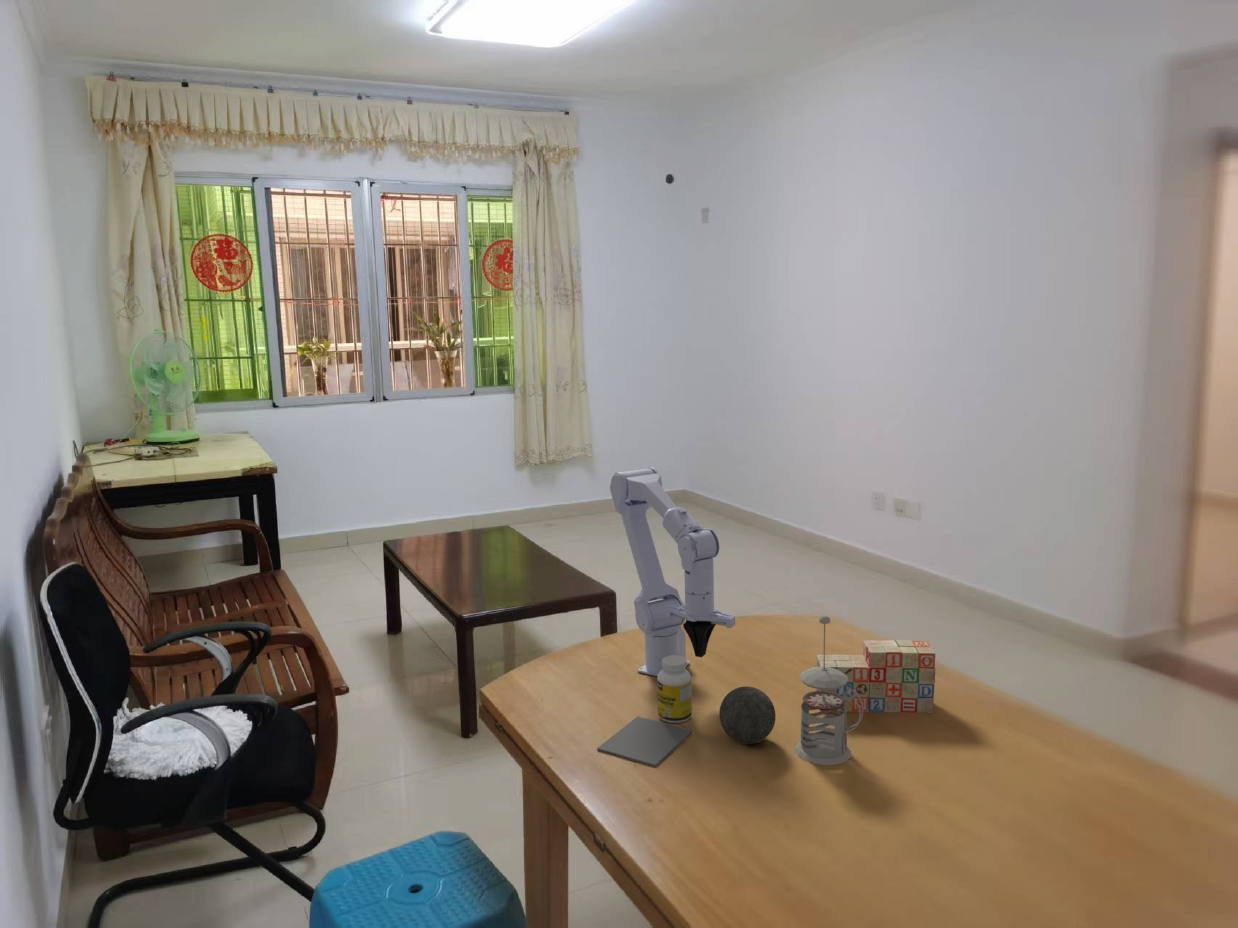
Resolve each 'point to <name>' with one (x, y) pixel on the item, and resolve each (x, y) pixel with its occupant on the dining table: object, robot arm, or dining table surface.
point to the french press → (829, 742)
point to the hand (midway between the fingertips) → (700, 655)
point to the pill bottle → (674, 690)
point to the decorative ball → (747, 715)
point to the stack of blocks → (887, 676)
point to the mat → (645, 741)
